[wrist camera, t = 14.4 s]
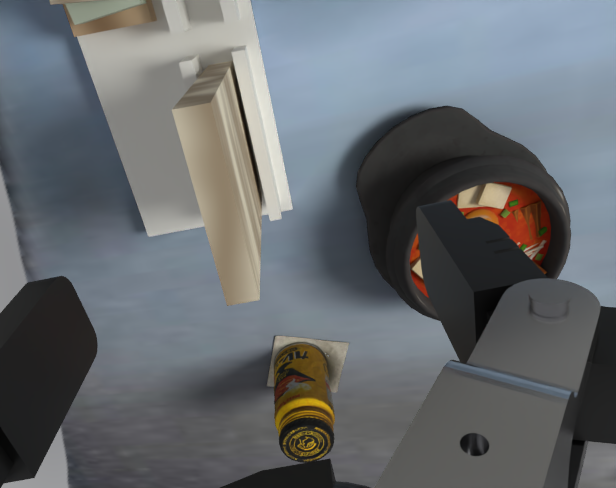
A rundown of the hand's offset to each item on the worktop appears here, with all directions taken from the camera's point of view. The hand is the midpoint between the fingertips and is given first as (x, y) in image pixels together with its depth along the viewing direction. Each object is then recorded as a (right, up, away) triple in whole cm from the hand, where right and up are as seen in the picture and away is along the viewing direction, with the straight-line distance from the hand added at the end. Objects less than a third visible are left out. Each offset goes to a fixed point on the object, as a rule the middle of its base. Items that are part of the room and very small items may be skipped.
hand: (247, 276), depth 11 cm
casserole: (+16, +3, +40) cm, 43 cm away
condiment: (+1, -13, +47) cm, 49 cm away
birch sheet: (-5, +10, +32) cm, 34 cm away
